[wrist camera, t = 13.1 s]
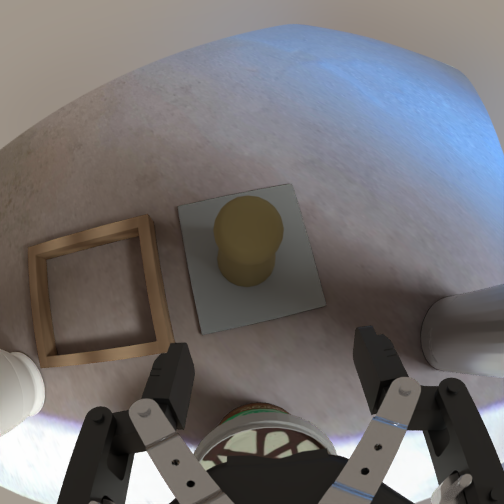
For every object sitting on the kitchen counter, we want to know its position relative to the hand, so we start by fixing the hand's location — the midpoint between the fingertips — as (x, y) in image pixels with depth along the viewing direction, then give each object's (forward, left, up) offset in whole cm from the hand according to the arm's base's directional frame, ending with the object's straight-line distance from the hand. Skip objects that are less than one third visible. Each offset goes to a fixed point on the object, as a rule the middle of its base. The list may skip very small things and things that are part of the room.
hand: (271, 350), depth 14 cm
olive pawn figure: (-1, -8, -17) cm, 19 cm away
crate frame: (+16, -7, -17) cm, 25 cm away
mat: (-1, -8, -17) cm, 19 cm away
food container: (+2, +9, -17) cm, 19 cm away
